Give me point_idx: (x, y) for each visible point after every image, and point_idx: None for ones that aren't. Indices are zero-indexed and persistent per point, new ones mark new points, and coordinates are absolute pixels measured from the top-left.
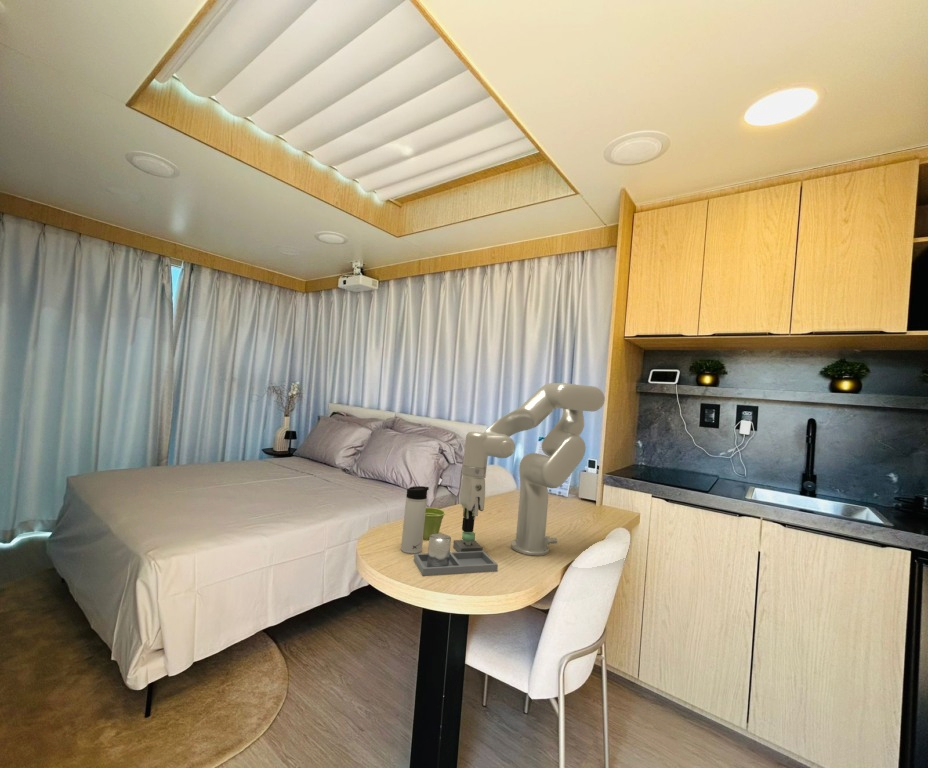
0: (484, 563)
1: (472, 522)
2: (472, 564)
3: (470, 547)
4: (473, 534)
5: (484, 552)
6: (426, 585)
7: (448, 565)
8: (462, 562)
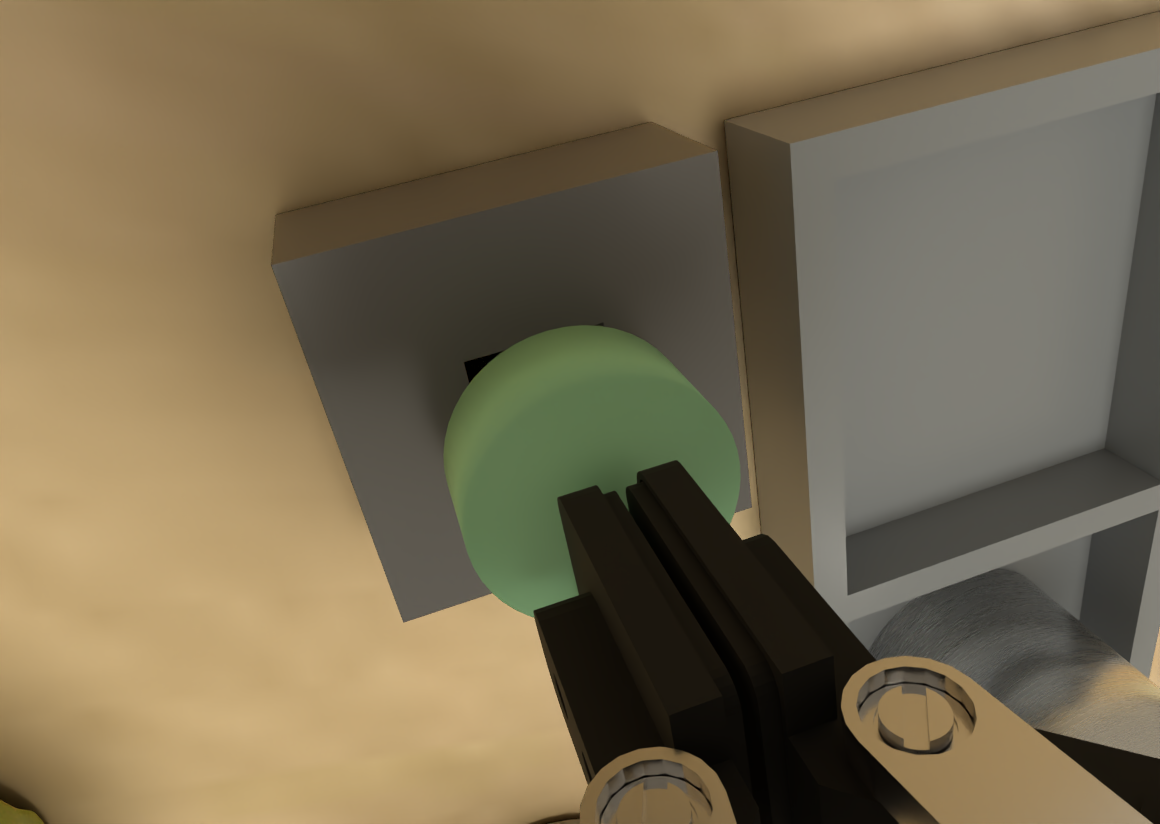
0: (963, 150)
1: (850, 637)
2: (963, 321)
3: (709, 372)
4: (683, 417)
5: (861, 141)
6: (1153, 670)
7: (1020, 585)
8: (893, 434)
